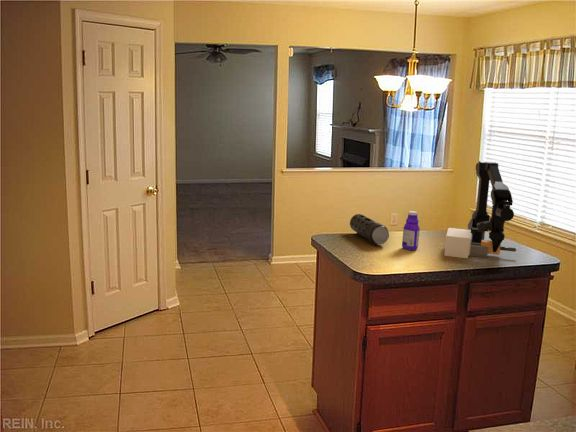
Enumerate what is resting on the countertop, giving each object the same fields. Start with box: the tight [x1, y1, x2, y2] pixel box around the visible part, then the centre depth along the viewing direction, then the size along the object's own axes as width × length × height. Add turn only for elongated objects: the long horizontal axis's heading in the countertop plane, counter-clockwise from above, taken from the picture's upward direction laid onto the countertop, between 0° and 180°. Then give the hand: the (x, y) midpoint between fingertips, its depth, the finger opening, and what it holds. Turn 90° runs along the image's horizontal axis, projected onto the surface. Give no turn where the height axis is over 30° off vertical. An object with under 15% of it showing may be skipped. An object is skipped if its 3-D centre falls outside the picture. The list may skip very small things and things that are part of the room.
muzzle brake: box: [349, 213, 390, 245], centre depth 282 cm, size 10×28×10 cm, turn 15°
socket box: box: [444, 227, 489, 259], centre depth 264 cm, size 18×18×9 cm
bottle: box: [401, 210, 420, 251], centre depth 267 cm, size 7×6×17 cm
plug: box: [481, 239, 517, 256], centre depth 260 cm, size 15×4×5 cm, turn 72°
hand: (494, 250), depth 261 cm, fingers closed on plug, 4 cm apart
